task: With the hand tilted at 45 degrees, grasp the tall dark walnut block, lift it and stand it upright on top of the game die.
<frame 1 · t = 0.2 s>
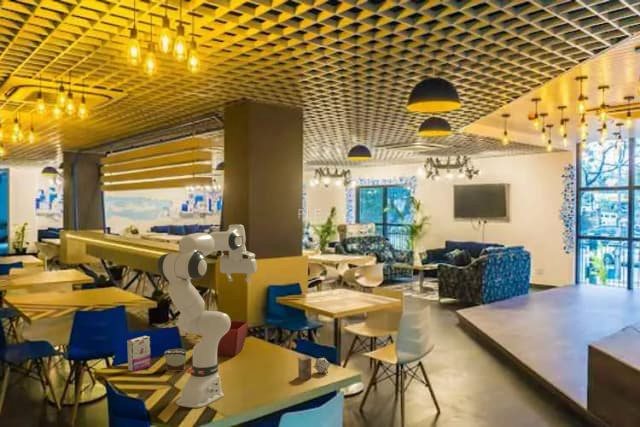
hand: (238, 281, 262), 48 cm above the table, tool pointing down, fingers open, 8 cm apart
plant pot: (228, 353, 298), on the table
food container: (177, 369, 271), on the table
walnut block: (304, 377, 256), on the table
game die: (321, 373, 262), on the table
candy bar box: (139, 368, 272), on the table
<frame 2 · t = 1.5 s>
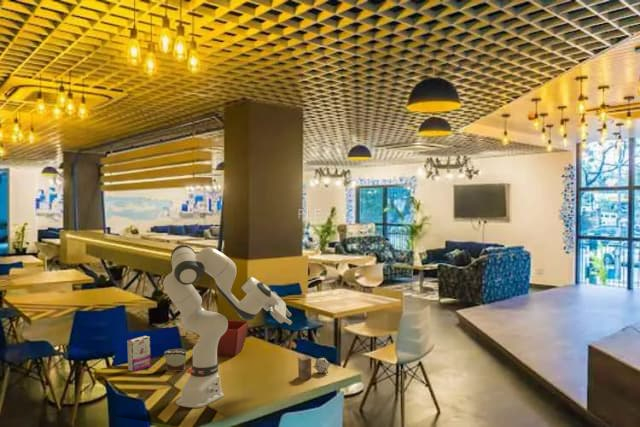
hand: (290, 319, 251), 30 cm above the table, tool tilted 50°, fingers open, 8 cm apart
nothing on the table moved.
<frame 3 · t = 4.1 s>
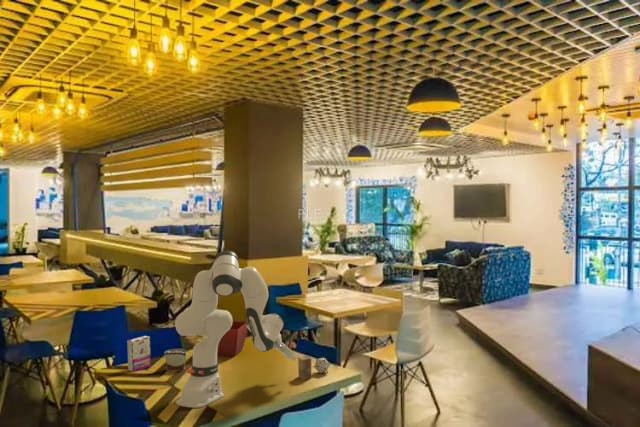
hand: (291, 356, 251), 12 cm above the table, tool tilted 45°, fingers open, 8 cm apart
nothing on the table moved.
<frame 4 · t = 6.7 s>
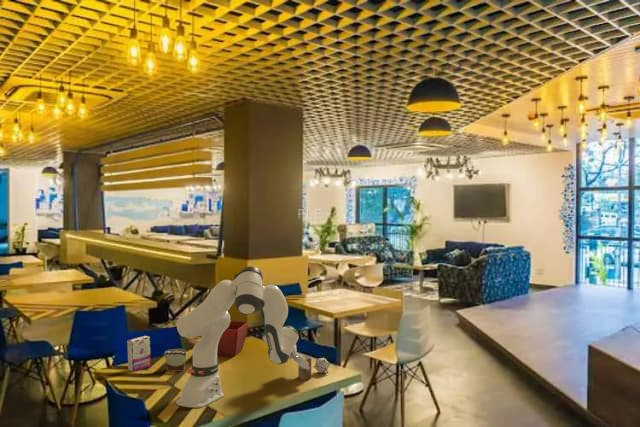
hand: (305, 366, 256), 5 cm above the table, tool tilted 45°, fingers closed on walnut block, 5 cm apart
walnut block: (304, 377, 256), on the table, touching gripper
everything else where it was.
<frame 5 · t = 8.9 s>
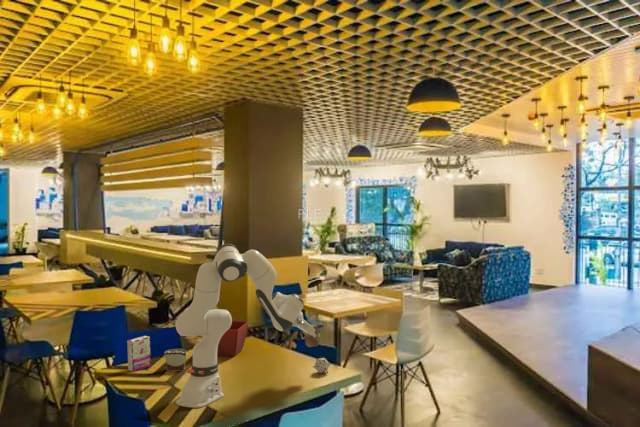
hand: (312, 334, 256), 22 cm above the table, tool tilted 45°, fingers closed on walnut block, 5 cm apart
walnut block: (311, 345, 255), point 16 cm above the table, touching gripper
everything else where it was.
when the fingers open (15 cm above the table, at t = 11.3 s): walnut block drops 2 cm, resting on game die.
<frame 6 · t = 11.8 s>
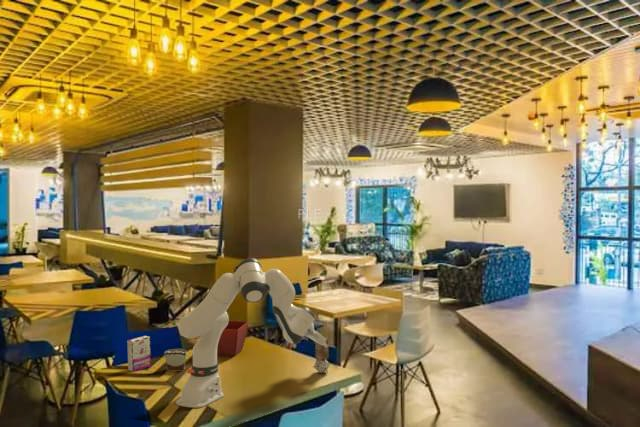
hand: (322, 344, 262), 15 cm above the table, tool tilted 45°, fingers open, 8 cm apart
walnut block: (321, 357, 262), point 8 cm above the table, touching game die
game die: (321, 373, 262), on the table, touching walnut block
everything else where it was.
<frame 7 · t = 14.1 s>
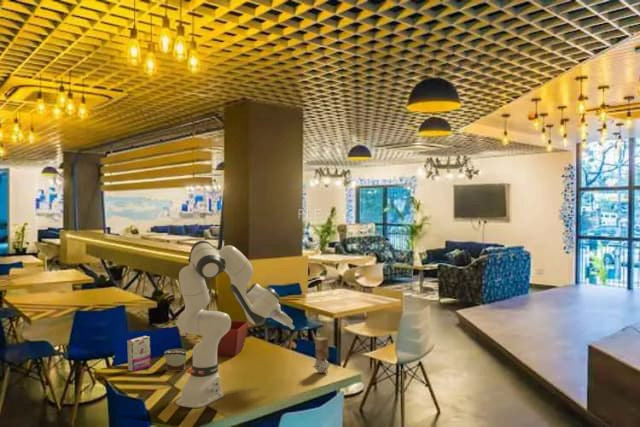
hand: (289, 326, 258), 25 cm above the table, tool tilted 45°, fingers open, 8 cm apart
nothing on the table moved.
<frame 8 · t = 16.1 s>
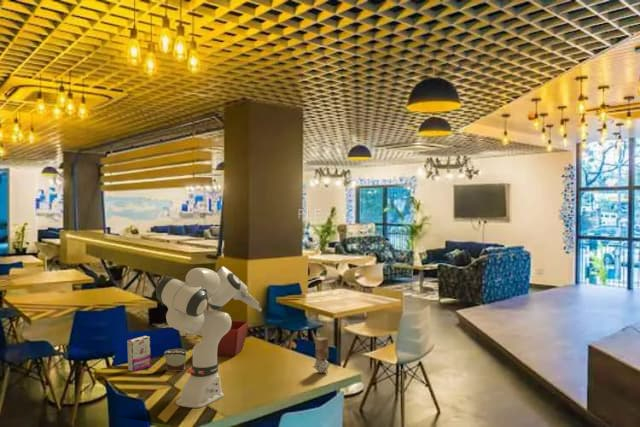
hand: (258, 308, 258), 34 cm above the table, tool tilted 45°, fingers open, 8 cm apart
nothing on the table moved.
at the end: walnut block inside the target area on the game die (0.1 cm from its centre), point 8.2 cm above the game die's base; walnut block tilted 0°; the gripper is holding nothing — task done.
